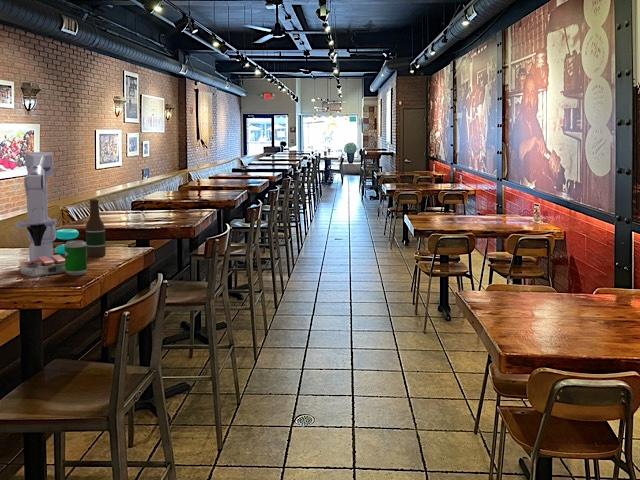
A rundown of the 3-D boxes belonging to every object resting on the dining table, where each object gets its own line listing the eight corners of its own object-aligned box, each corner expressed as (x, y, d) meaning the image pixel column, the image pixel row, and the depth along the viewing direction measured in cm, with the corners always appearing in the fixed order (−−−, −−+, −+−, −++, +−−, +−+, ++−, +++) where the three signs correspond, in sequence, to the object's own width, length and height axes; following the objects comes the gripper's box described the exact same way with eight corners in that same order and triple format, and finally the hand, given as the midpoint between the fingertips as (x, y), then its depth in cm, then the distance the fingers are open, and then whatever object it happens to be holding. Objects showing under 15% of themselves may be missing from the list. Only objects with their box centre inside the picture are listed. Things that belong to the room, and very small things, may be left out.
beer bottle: (109, 255, 280) (107, 199, 277) (94, 258, 274) (92, 200, 270) (97, 253, 284) (95, 198, 281) (82, 256, 278) (80, 199, 274)
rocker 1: (24, 265, 239) (24, 262, 239) (33, 263, 242) (33, 261, 242) (32, 262, 235) (31, 260, 235) (40, 261, 238) (40, 259, 238)
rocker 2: (37, 259, 243) (37, 256, 243) (46, 258, 245) (46, 255, 245) (45, 265, 239) (45, 263, 239) (53, 264, 242) (54, 262, 241)
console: (20, 273, 240) (20, 263, 240) (59, 267, 251) (59, 258, 251) (32, 277, 234) (31, 266, 234) (72, 271, 245) (71, 261, 245)
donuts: (83, 229, 285) (64, 232, 277) (84, 252, 287) (65, 255, 278) (68, 228, 290) (48, 230, 282) (69, 250, 292) (49, 253, 283)
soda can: (90, 272, 244) (89, 240, 243) (81, 276, 237) (80, 243, 235) (71, 271, 245) (70, 239, 243) (61, 275, 238) (60, 242, 236)
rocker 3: (50, 257, 247) (50, 255, 246) (58, 256, 249) (59, 254, 249) (58, 263, 243) (58, 261, 243) (66, 262, 245) (66, 260, 245)
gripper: (20, 210, 228) (22, 249, 229) (60, 207, 238) (62, 244, 240) (11, 209, 232) (13, 247, 234) (51, 206, 243) (52, 242, 245)
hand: (37, 245), depth 238 cm, fingers closed
